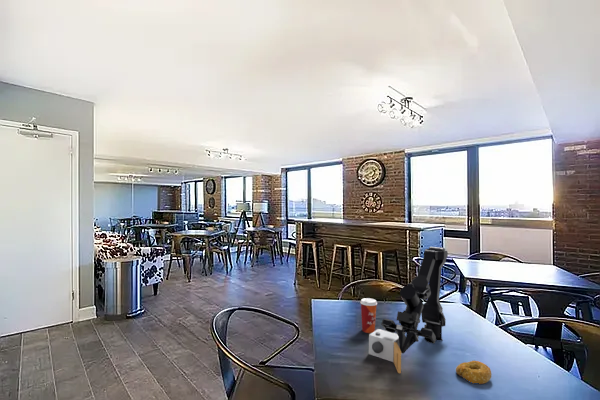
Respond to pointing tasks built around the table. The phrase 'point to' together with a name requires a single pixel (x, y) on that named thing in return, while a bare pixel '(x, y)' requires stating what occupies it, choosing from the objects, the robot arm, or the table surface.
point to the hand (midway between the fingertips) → (401, 352)
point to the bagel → (474, 372)
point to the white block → (383, 344)
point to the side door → (397, 357)
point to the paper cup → (368, 314)
